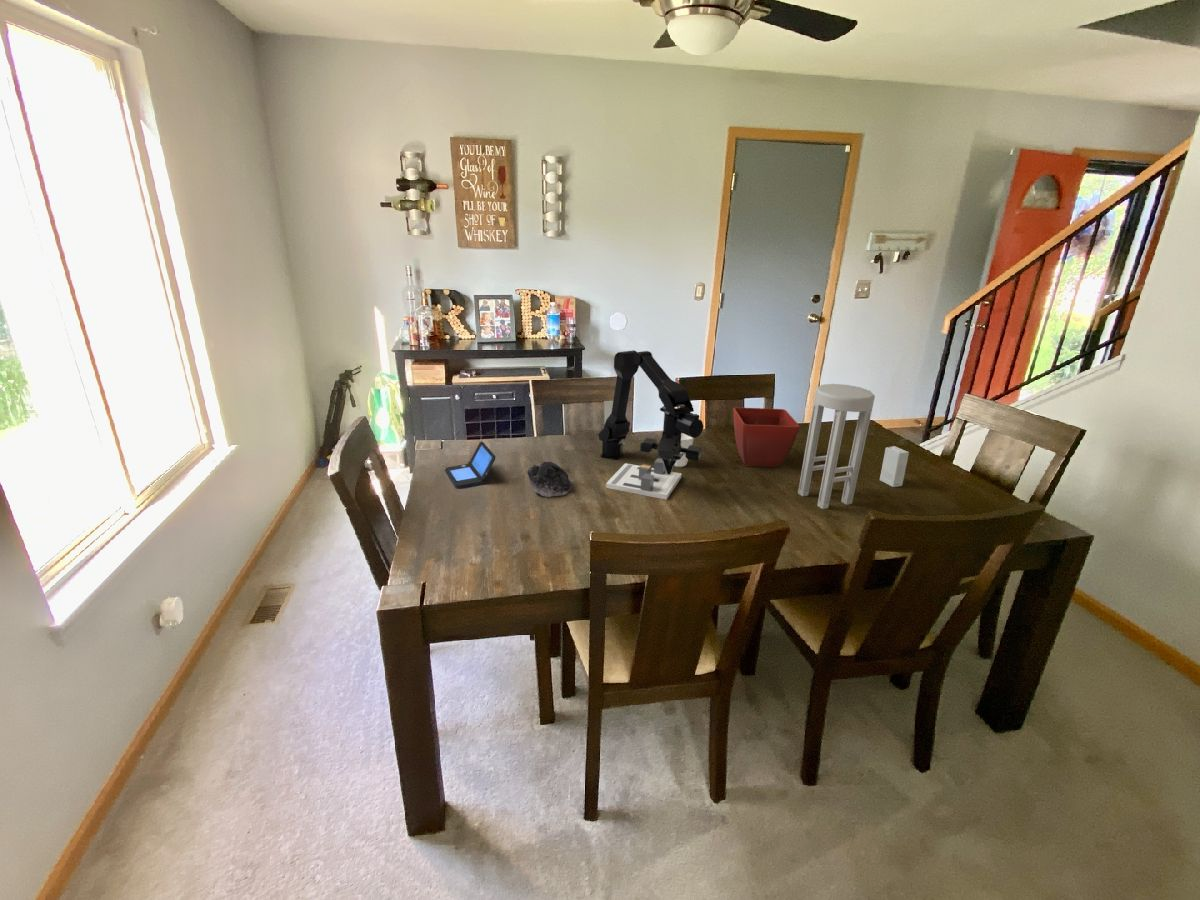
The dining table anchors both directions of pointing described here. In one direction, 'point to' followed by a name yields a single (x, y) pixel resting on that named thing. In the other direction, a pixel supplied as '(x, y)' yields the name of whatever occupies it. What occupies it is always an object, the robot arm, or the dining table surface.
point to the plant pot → (764, 435)
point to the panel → (631, 483)
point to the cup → (685, 443)
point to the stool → (836, 439)
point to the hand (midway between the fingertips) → (668, 473)
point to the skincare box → (894, 466)
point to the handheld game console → (472, 468)
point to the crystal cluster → (549, 479)
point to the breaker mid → (644, 470)
